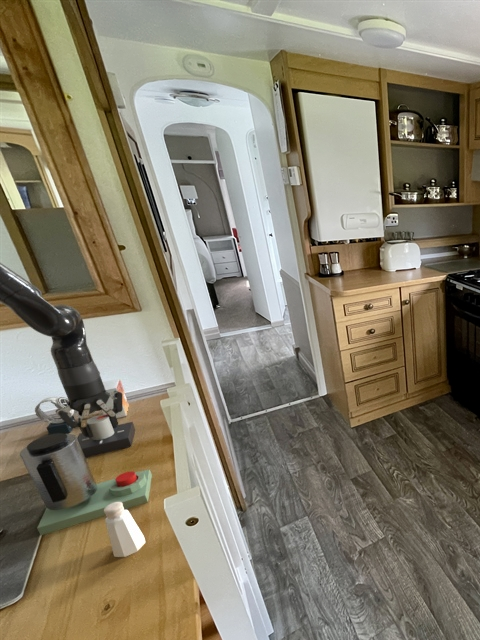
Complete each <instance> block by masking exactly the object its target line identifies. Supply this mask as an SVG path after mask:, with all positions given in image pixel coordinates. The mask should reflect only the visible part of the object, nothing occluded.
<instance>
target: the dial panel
mask: <svg viewBox="0 0 480 640" xmlns="http://www.w3.org/2000/svg"><path fill="white" fill-rule="evenodd" d="M116 426H117V427H116V428H113V429H114V434H113V435H112V436H110V437H108V438H106V439H102V440H93V439H92V437H91V438H89V437H85V436H84V435H83V434H82V432H80V433H78V435H77V436H76V437H77V439H78V442H79V444H80V447H81V449H82V451H83V454H84V456H85V458H86V459H87V458H90V457H94V456H98V455H102V454H103V455H104V454H106V453H110V452H115V451H118V450H122V449H126V448H131V447H132V446H133V441H134V437H135V433H136V427H135V425H134V421H130V422H124V423H121V424H118V425H116ZM130 446H131V447H130Z"/></svg>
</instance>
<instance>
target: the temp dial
mask: <svg viewBox="0 0 480 640" xmlns="http://www.w3.org/2000/svg"><path fill="white" fill-rule="evenodd" d="M87 425H88V426H89V428H90V431H91V433H92V436H93V437H92V439H93V440H102V439H106V438H108V437H110V436H112V435H113V434H114V429H113V427H112V424H111V422H110V419H109V416H108V415H107V414H106V415H102V414H99V415H95V416H92V417H90V418H88V419H87Z"/></svg>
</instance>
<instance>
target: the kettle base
mask: <svg viewBox="0 0 480 640" xmlns="http://www.w3.org/2000/svg"><path fill="white" fill-rule="evenodd" d="M134 472H135V474H136V477H137V480H136V481H135V482H134V483H132V484H130V485H128V486H124V487H118V485H117V483H116V480H115V479H116V478H113V479H108V480H105V481H101V482H98V483H96V484H97V487H98V488H97V491H96V492H95V493H94V494H93V495H92V496H91V497H90V498H88V499H87V500H85V501H83V502H81V503H79V504H77V505H75V506H72V507H69V508H66V509H61V510H50V509H48V508H47V507H45V510H44V512H43V514H42V517H41V519H40V520H39V523H38V525H37V527H36V528H37V531H38V533H39V535H40V536H45V535H47V534H50V533H53V532H57V531H60V530H63V529H66V528H71V527H73V526H75V525H79V524H83V523H85V522H89V521H92V520H95V519H98V518H102V517H105V516H106V513H105V512H104V509H105V507H106V506H108V505H109V504H111V503H114V502H122V504H123V507H124V510H128V509H131V508H134V507H137V506H140V505H143V504H146V503H149V497H150V491H151V484H152V478H153V474H152V472H151V469H150V468H148V469H144V470H141V471H134Z"/></svg>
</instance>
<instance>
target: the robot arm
mask: <svg viewBox="0 0 480 640" xmlns="http://www.w3.org/2000/svg"><path fill="white" fill-rule="evenodd" d="M0 304H2V305H4V306H6V307H7V308H9V309H10V310H11V311H12V312H13V313H14V314H15V315H16V317H18V318H19V319H20V320H21V321H23V322H24V323H25V324H26V325H27V326H28V327H30V328H31V329H33V330H34V331H35V332H36V333H39V334H40V335H42V336H46V337H49V338H51V341H52V344H51V347H50V354H51V358H52V361H53V362H54V364H55V367H56V370H57V375H58V378H59V380H60V383H61V385H62V387H63V389H64V393H65V395H66V398H67V399H68V400H69V403H68V406H66V407H65V408H63V409H58V408H56V410H55V414H57V416H58V417H59V418H61V419H62V420H63V421H64V422H65V423H66V424H67V425H68V426H70V427H71V428H73V429H72V430H74V429H76V428H77V429H78V428H79V429H80V433H82V434H83V435H84V436H85V437H89V438H91V437H93V436H92V433H91V431H90V428H89V426H88V425H87V420H88V419H90V418H89V417H90V414H93V413H95V412H99V411H100V412H101V410H103V411H104V412H105V413H106V414H108V416H109V419H110V422H111V424H112V427H113V428H116V427H117V426H116V425H119V421H118V418H116V414H117V413H118V412H121V411H122V393H121V392H119V391H114V392H111V393H108V392H107V391H106V390H105V387H104V385H103V382H104V381H103V379H102V377H101V372H100V370H99V368H98V366H97V364H96V363H95V361H94V358H93V356H92V353H91V350H90V348H89V345H88V343H87V335H86V334H87V333H86V329H85V324H84V320H83V317H82V315H81V314H80V313H79V311H78V310H77V309H76V308H74V307H73V306H70V305H67V304H55V305H53V304H51V303H50V302H48V301H47V300H46V299H45V298H43V293H42V291H41V290H40V289H39V287H37V286H35V285H34V284H32V283H31V282H30V281H28V280H27V279H25V278H24V277H22V276H21V275H20V274H18V273H16V272H15V271H13V270H12V269H10V268H9V267H8V266H6V265H5V264H3V263H2V262H0ZM109 397H111V398H112V399H113V409H112V410H111V409H110V408H109V407H108V406H107V405H106V403H107V401H108V399H109ZM71 409H73V410H75V411H74V412H77V413H76V414H77V415H76V416H77V420H76V422H74V421H73V420H72V419H71V418H70V417H69V416H70V410H71Z"/></svg>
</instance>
